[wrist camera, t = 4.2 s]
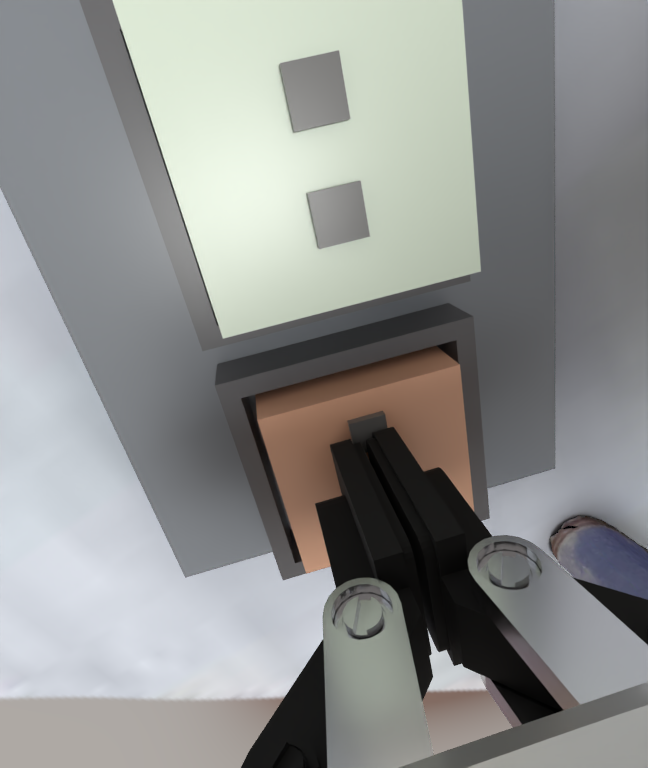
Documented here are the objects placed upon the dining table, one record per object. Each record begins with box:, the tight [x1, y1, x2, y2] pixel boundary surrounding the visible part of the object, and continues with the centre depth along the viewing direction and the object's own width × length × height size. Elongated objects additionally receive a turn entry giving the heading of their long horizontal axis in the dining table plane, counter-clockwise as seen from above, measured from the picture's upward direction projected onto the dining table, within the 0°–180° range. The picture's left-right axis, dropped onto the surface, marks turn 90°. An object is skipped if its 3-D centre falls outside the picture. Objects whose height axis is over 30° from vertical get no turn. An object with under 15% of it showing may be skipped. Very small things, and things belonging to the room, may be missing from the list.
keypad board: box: [0, 0, 555, 580], centre depth 11 cm, size 13×22×3 cm, turn 13°
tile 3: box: [255, 346, 474, 574], centre depth 13 cm, size 5×5×2 cm
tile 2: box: [112, 0, 481, 339], centre depth 8 cm, size 5×5×2 cm
